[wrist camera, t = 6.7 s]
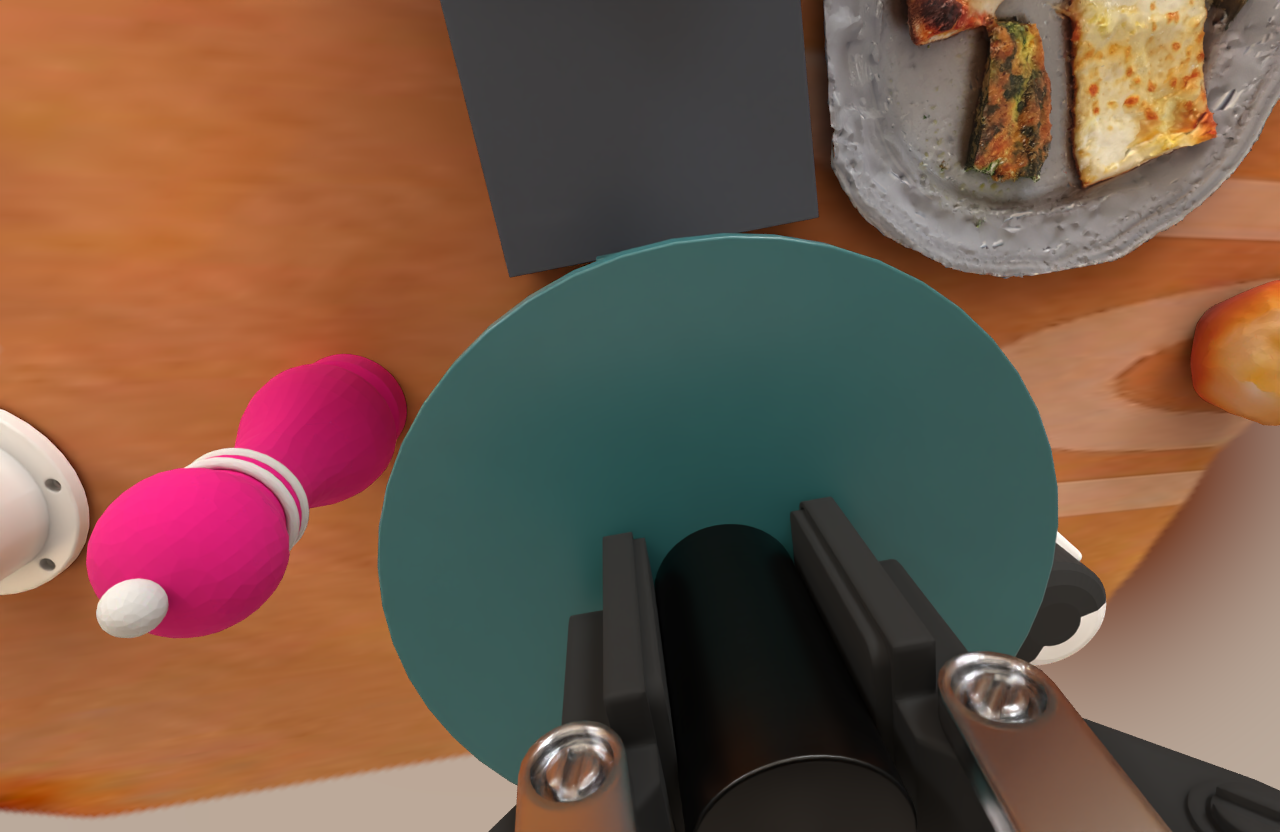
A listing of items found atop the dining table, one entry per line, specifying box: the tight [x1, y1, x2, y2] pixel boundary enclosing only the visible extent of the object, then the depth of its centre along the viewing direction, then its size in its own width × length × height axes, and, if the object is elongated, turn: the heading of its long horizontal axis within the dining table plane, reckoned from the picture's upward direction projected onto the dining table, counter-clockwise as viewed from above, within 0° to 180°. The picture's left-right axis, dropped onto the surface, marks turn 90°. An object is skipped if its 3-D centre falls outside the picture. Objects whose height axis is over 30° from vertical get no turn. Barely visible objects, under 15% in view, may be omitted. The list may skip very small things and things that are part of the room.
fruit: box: [1190, 280, 1280, 426], centre depth 37 cm, size 8×8×8 cm
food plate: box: [823, 0, 1280, 279], centre depth 32 cm, size 25×23×4 cm
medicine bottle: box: [1015, 531, 1106, 665], centre depth 37 cm, size 7×7×12 cm
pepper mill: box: [86, 354, 407, 638], centre depth 29 cm, size 7×7×20 cm
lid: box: [378, 233, 1058, 832], centre depth 10 cm, size 12×12×6 cm
